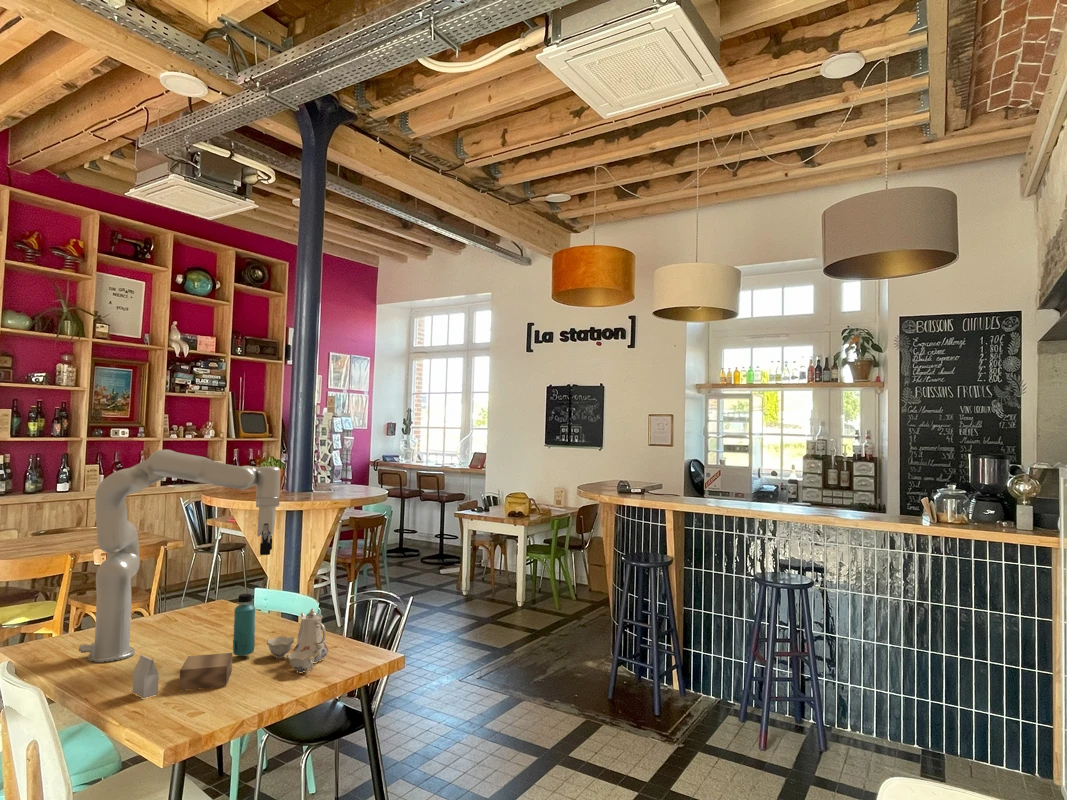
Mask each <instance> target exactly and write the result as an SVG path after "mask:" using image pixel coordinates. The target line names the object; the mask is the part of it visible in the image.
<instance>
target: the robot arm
mask: <svg viewBox="0 0 1067 800" xmlns="http://www.w3.org/2000/svg"><path fill="white" fill-rule="evenodd" d="M165 478H171V479H172V478H173V479H179V480H184V481H185V480H186V481H191V482H195V483H201V484H208V485H213V486H218V487H223V488H231V489H235V490H247V489H249V488H250V487H256V499H255V500H256V501H255V507H256V508H258V516H257V531H256V532H257V533H256V536H257V537H259V538H261V539H260V543H259V544H260V545H259V556H269V555H271V551H272V550H273V535H274V531H275V525H276V508H278V507H280V496H281V495H280V494H281V469H280V467H278V466H275V465H274V466H272V465H271V466H265V465H264V466H254V465H253V466H252V465H242V466H241V465H240V466H239V465H235V464H234V465H233V464H227V463H223V462H218V461H215V460H212V459H210V458H208V457H205V456H200V455H196V454H195V455H194V454H188V453H182V452H177V451H174V450H171V449H160V450H156V451H154V452H153V453H152V454H151V455H149V458H147V459H145V460H143V461H140V462H139V463H137V464H135V465H133V466H131V467H127V468H122V469H120V470H116V471H115V472H112V473H111V474H109V475H108V476H107V477H105V478H104V479H102V481H101V482H100V483H99V485H98V486H97V489H96V491H95V495H94V496H95V499H94V504H95V505H94V506H95V522H96V543H97V546H98V547H99V549H100V550H101V551H102V552H104V553H106V559H105V560H104V561H103V562H101V564H100V565H99V566H98V568H97V571H96V573H95V586H96V588H95V589H96V606H95V608H96V609H95V610H96V611H95V628H94V630H95V631H94V643H93V642H92V643H91V644H80V645H79V647H78V651H79V652H80V653H82V654H83V653H89V654H88V656H87V660H88V661H90V662H92V661H94V662H93V663H105V662H104V661H111V662H115V661H114V660H117V661H121V660H125V659H127V657H128V658H130V657H131V656H133V655H135V651H136V650H135V648H134V647H131V646H130V639H131V623H132V622H131V619H132V618H131V616H132V578H133V577H135V576H136V575H137V573H138V572H139V570H140V565H141V563H140V562H141V560H140V559H141V558H140V547H139V546H140V545H139V534H138V529H137V528H136V526H135V525H134V523H133V522H131V521H129V520H128V508H127V503H126V499H127V497H128V496H129V495H132V494H136V493H139V492H142V491H143V490H145V489H147V488H149V487H150V486H152V485H154V484H155V483H158V482H159V481H161V480H164V479H165ZM260 536H261V537H260ZM124 658H125V659H124ZM120 659H121V660H120Z"/></svg>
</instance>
